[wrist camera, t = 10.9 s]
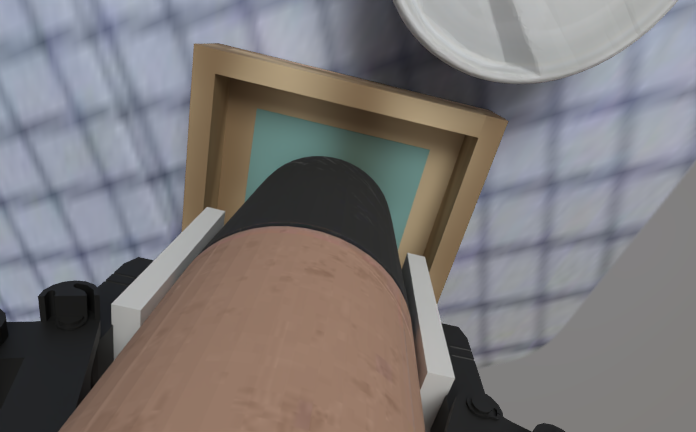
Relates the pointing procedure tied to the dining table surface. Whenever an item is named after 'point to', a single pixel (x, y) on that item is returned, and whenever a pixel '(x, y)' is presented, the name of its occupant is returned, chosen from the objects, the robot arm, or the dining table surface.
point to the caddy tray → (337, 143)
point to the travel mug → (276, 322)
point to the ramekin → (528, 34)
